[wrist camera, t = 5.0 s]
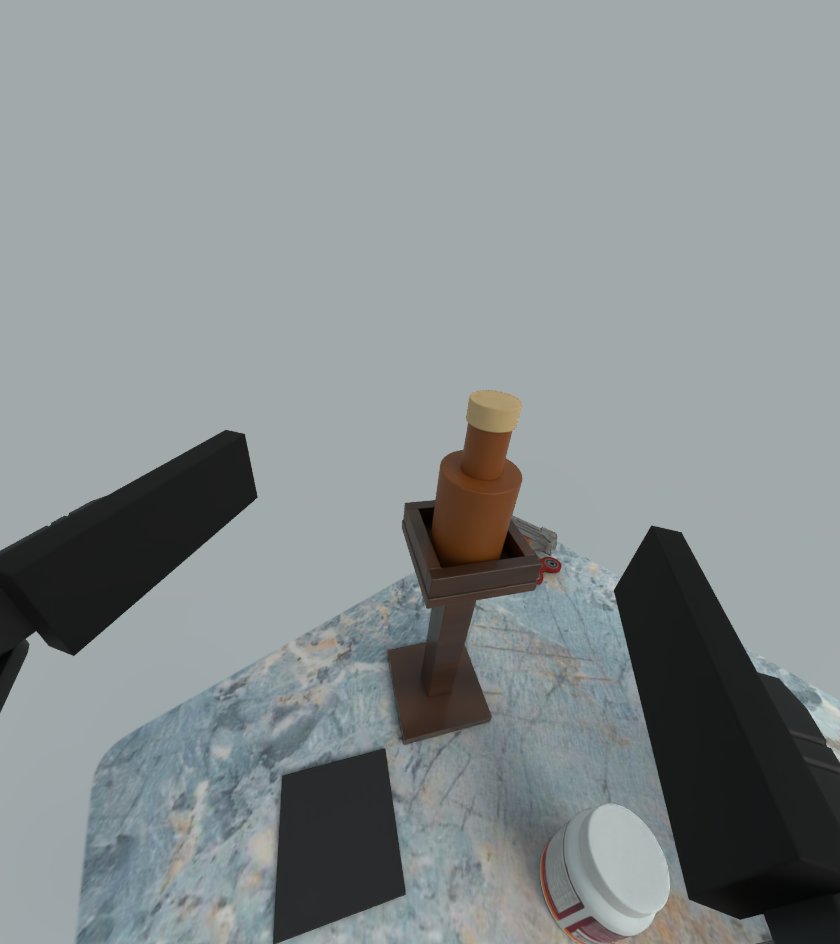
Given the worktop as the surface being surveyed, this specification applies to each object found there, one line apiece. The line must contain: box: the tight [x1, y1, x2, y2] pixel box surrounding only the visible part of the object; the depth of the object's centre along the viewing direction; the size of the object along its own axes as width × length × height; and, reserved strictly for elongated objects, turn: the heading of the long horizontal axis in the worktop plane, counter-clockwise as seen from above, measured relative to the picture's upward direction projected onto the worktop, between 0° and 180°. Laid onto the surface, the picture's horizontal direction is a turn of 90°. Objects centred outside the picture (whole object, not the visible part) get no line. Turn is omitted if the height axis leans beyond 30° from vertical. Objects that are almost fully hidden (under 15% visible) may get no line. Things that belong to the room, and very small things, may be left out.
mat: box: [273, 749, 406, 944], centre depth 31 cm, size 10×10×1 cm
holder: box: [388, 500, 542, 744], centre depth 36 cm, size 10×10×25 cm
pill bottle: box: [540, 803, 670, 944], centre depth 27 cm, size 6×6×11 cm
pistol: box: [511, 516, 557, 556], centre depth 64 cm, size 19×2×12 cm
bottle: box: [430, 390, 522, 568], centre depth 26 cm, size 6×6×13 cm
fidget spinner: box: [536, 557, 561, 585], centre depth 59 cm, size 8×7×1 cm
